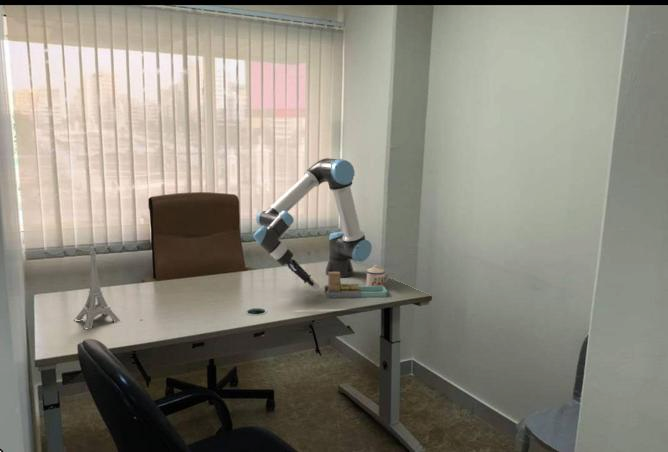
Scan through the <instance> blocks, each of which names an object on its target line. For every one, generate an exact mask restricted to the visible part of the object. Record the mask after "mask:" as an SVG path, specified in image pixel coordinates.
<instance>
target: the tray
mask: <svg viewBox="0 0 668 452" xmlns="http://www.w3.org/2000/svg"><path fill="white" fill-rule="evenodd" d="M359 291H361V297H362V298H371V297H372V298H373V297H374V298H377V297H378V298H379V297H380V298H381V297H383V298H384V297H388V296H389V292H388V290H387V289H386V287H385V285H384V286H366V285H359Z"/></svg>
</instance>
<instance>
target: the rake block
mask: <svg viewBox="0 0 668 452" xmlns="http://www.w3.org/2000/svg"><path fill="white" fill-rule="evenodd" d="M327 281H328V291H340V284H341V277H340V272H329V276H328V280H327Z"/></svg>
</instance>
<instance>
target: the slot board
mask: <svg viewBox="0 0 668 452" xmlns="http://www.w3.org/2000/svg"><path fill="white" fill-rule="evenodd" d="M349 286H350V284H349ZM361 292H362V291H328V285H324V294H325V296H326V299H357V298H358V299H359V298H363V297H361Z"/></svg>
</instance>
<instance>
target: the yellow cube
mask: <svg viewBox="0 0 668 452" xmlns="http://www.w3.org/2000/svg"><path fill="white" fill-rule="evenodd" d="M349 285H350V291H359V286H360V285H359V284H358V283H349Z"/></svg>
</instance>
